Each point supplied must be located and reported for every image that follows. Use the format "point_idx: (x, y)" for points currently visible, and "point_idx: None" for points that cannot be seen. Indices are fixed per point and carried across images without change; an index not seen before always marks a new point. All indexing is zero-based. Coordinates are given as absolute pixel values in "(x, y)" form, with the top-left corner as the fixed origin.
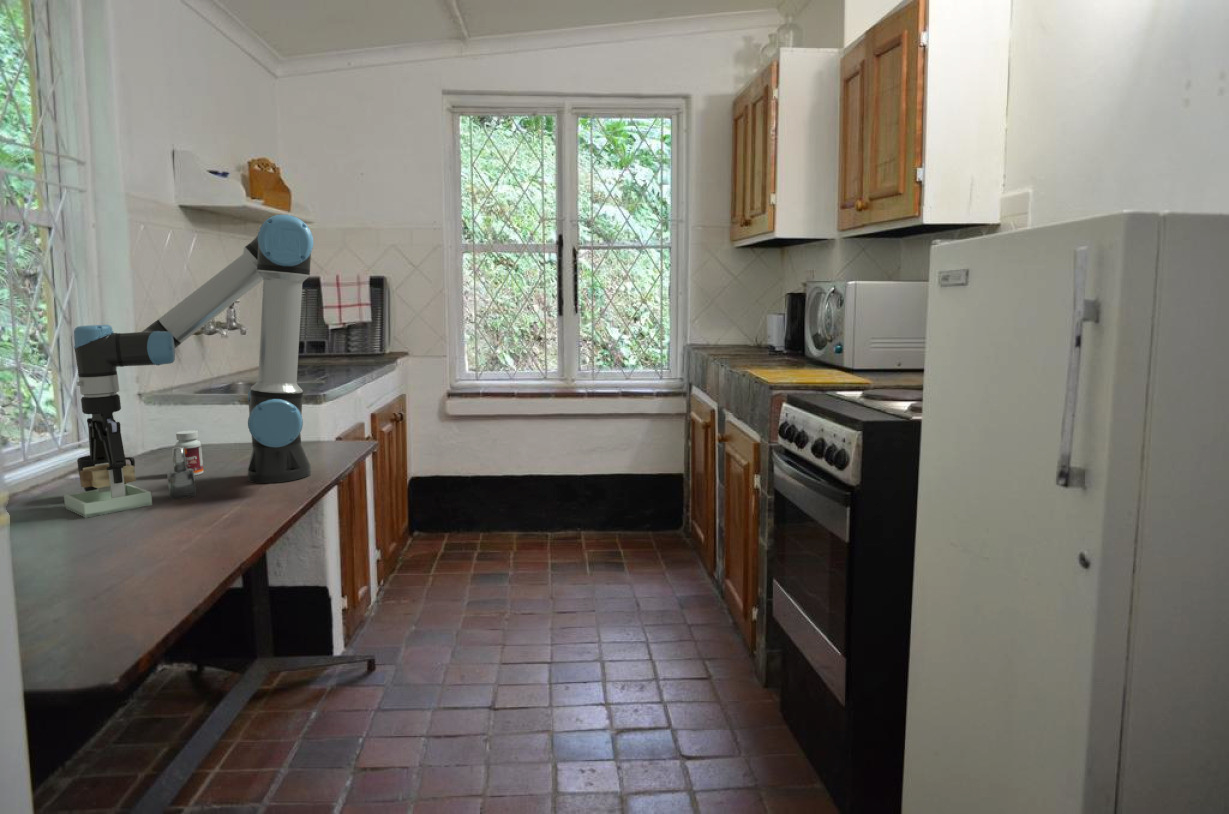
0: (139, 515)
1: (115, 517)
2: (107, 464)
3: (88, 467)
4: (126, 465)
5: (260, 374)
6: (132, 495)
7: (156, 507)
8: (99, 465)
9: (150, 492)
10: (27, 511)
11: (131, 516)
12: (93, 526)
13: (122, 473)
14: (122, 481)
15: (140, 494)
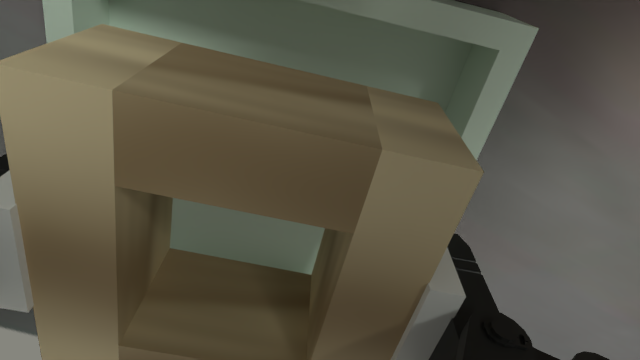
0: (608, 186)
1: (508, 245)
2: (45, 226)
3: (59, 356)
4: (338, 181)
5: None
6: (480, 150)
7: (579, 41)
8: (35, 282)
9: (534, 30)
10: (24, 314)
11: (578, 210)
12: (532, 338)
13: (449, 259)
14: (462, 241)
15: (503, 101)
